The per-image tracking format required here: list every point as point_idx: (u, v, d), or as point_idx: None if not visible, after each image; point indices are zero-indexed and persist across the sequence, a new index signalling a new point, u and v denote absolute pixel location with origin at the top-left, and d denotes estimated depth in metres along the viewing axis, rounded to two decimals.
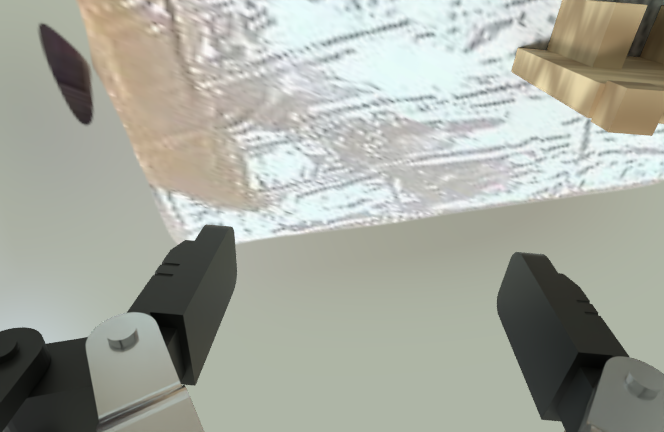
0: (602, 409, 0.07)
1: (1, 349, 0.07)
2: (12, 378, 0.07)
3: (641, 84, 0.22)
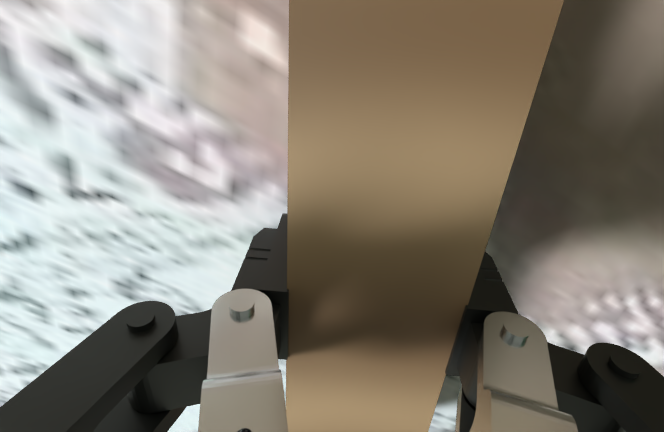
0: (491, 369, 0.07)
1: (142, 319, 0.08)
2: (158, 344, 0.07)
3: None
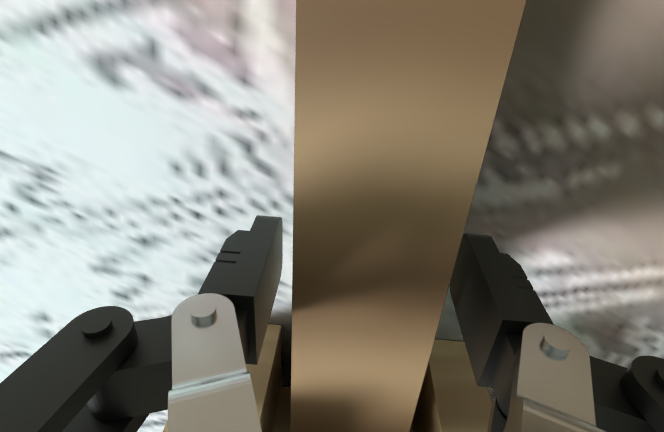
0: (527, 378, 0.07)
1: (97, 325, 0.07)
2: (112, 350, 0.07)
3: None
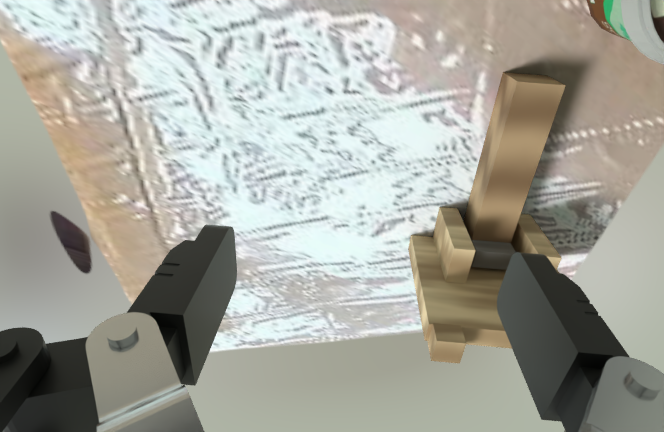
0: (602, 409, 0.07)
1: (1, 349, 0.07)
2: (12, 378, 0.07)
3: (452, 329, 0.34)
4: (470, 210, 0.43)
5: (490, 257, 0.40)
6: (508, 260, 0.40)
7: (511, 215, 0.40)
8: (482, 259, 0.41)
